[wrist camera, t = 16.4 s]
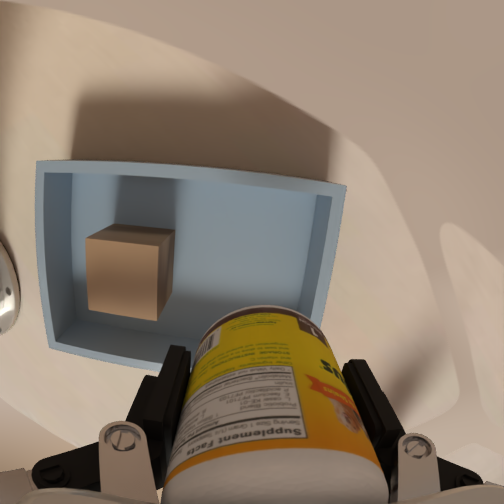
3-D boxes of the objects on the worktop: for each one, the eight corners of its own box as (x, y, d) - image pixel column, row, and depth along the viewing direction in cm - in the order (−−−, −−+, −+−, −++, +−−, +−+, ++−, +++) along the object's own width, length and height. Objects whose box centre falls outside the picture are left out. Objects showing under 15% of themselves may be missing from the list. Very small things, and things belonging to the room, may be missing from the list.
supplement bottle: (332, 393, 14) (395, 593, 4) (215, 412, 14) (195, 616, 4) (321, 284, 12) (452, 531, 2) (180, 310, 12) (86, 562, 3)
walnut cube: (113, 223, 23) (85, 238, 19) (175, 229, 24) (158, 246, 19) (113, 284, 25) (88, 309, 20) (172, 292, 25) (156, 321, 20)
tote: (74, 321, 26) (49, 348, 22) (70, 159, 23) (36, 160, 18) (296, 350, 28) (305, 385, 23) (326, 181, 24) (346, 185, 19)
